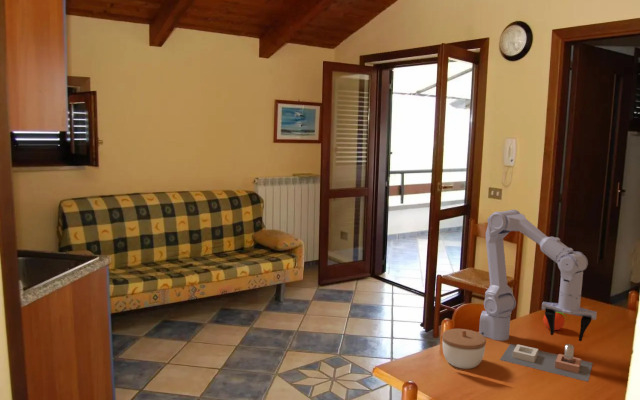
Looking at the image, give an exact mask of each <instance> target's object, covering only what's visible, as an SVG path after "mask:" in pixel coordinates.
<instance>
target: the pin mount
mask: <svg viewBox="0 0 640 400" xmlns="http://www.w3.org/2000/svg"><path fill="white" fill-rule="evenodd" d="M516 345H517V346H516V347H515V349H514V351H513V358H517V359H521V360H525V361H529V362H533V363H534V362H535V360H536V358H537V356H538V350H539V348H536V347H532V346H531V347H530V346H526V345H522V344H519V343H518V344H516Z"/></svg>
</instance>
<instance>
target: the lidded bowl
mask: <svg viewBox="0 0 640 400" xmlns="http://www.w3.org/2000/svg"><path fill="white" fill-rule="evenodd" d="M482 334H483V333H482ZM482 334H480V333H479V331H475V330H471V329H467V328H450V329H447V330H445V331H443V332H442V334H441V335H442V336H441V339H442V343H441V345H442V353H443V356H444V358H445V360H446V362H448V363H449V365H451V366H453V367H454V370H458V371H461V370H462V371H463V372H465V370H467V369H468V370H469V369H473V368H476V367H477V366H479V365H480V363H482V361H483V359H484V357H485V351H486V345H487V337H484V336H483V335H482ZM464 369H465V370H464Z"/></svg>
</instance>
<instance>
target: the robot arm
mask: <svg viewBox="0 0 640 400" xmlns="http://www.w3.org/2000/svg"><path fill="white" fill-rule="evenodd" d="M486 221H487V227H486V231H485V243H486V244H485V245H486V255H487V264H488V276H489V277H488V278H489V287H488V288H487V289H486V291H485V293H484V296H485V297H484V301H483V306H484V307H483V308H484V310H482V311H481V314H480V318H479V325H478V326H479V327H478V328H479V329H478V333H480V334H482V335H483V336H484V337H485V338H486V339H487V338H488V339H490V340H494V341H499V342H500V341H508V340H509V339H510V328H511V314H512V313H513V310H514V309H515V308H516V306H517V301H516V298H515V296H514V292H513V289H512V288H511V287H510V286H509V285H508V278H507V266H506V256H505V246H504V244H505V243H504V238H505V237H506V236H507V235H509V234H510V232H520V233H521V234H523V235H524V236H526V237H527V238H529V239H530V240H532V241H533V242H535V243H536V244H537V245H539V248H540V251H541V252H542V253H543V254H544V255H546V256H547V257H548V258H549V259H550V260H552V261H553V262H555V263H556V264H557V267H558V269H559V271H560V282H559V283H560V284H559V285H560V286H559V293H558V294H559V295H558V302H549V301H548V302H547V301H543V302H542V304H541V310H542V311H545V312H544V315H545V316H546V318H547V320H548V323H549V327H550V329H549V331H550V333H549V334H550V335H551V336H554V335H555V334H554V333H555V330H554V326H555V314H556V312H561V313H563V314H565V315H567V314H568V315H572V316H577V317H581V319H580V330H579V336H578V341H579V342H582V341H583V338H584V334H585V332H586V330H587V328H588V327H589V325H590V324H591V322H592V320H593V321H595V320H597V313H598V312H597V311H594V310H590V309H587V308H583V307H581V298H582V288H583V279H584V278H583V277H584V276H583V275H584V271H586V269H587V268H588V265H589V261H588V258H587V256H586V255H584V253H583V252H581V251H574V249H573V248H572V247H569V246H567V245H566V244H564V243H563V242H562V241H561V238H559V237H555V236H547V235H546V234H545V233H544V232H542V231H541V230H540V229H539V228H538V227H536V225H534V224H533V223H532V222H530V221H529V220H528V219H527V217H526V216H525V214H524V213H521V212H520V211H519V210H516V209H510V210H504V211H503V210H502V211H494V212H492V213H491V214H490V215H489V216H488V217H487V220H486Z"/></svg>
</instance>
